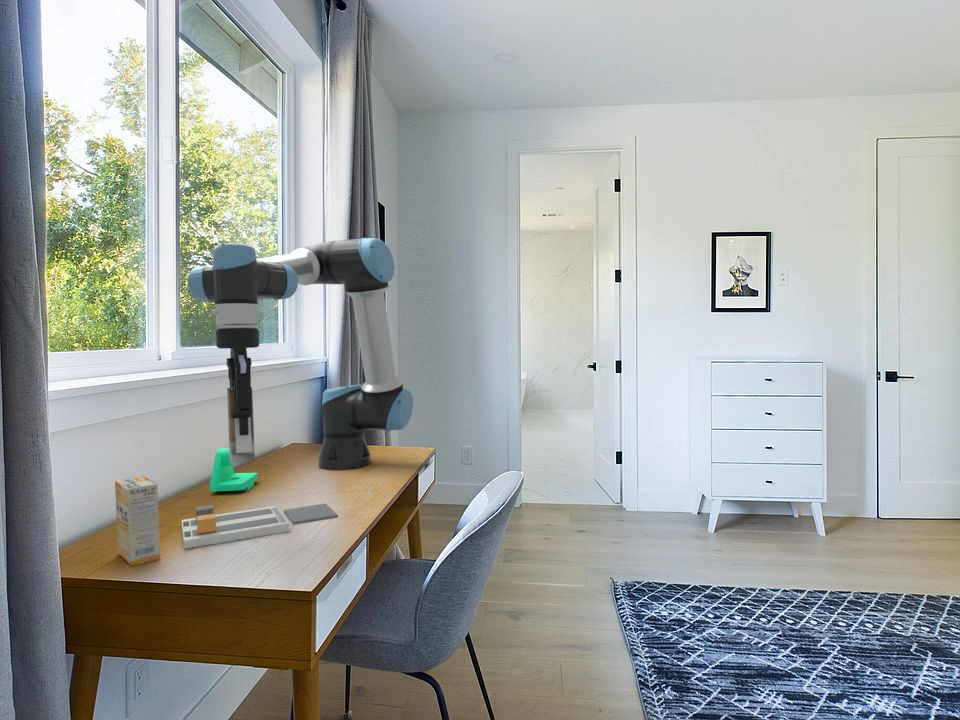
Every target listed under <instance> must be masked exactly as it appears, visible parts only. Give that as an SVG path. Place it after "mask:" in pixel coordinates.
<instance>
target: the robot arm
mask: <svg viewBox="0 0 960 720" xmlns="http://www.w3.org/2000/svg"><path fill="white" fill-rule="evenodd" d="M212 251H213V252H212V255H213V256H212V265H209V264H206V265H203V266H201V265H200V266H196V267H194V268H193V269H192V270H191V271H190V272H188V273H189V274H188V277H187V286H188V287H187V288H188V292H189V293H190V295H191V296H192V297H193V298H194V299H195V300H197V301H199V302H209V303H213V302H214V304H215V306H214V308H215V309H212V310H211V314H212V315H215V325H216V326H217V327H219V328H217V329H216V331H215V342H216V348H218V349H220V350H221V349H230V355H229V357H228V358H226V366H227V370H228V371H227V372H228V375H227V377H228V380H229V388H231V387H232V388H233V387H234V393H235V410H236V414H235V415H232V419H234V418H235V438H236V453H244V452H252V438H251V417H250V416H251V415H252V404H251V388H252V385H251V379H252V375H251V372H252V371H251V370H252V369H251V368H252V358H251V357H248V351H247V349H249V348H254V349H255V348H259V347H260V331H259V329H258V328H257V327H256V326H258V325H259V323H260V320H259V316H260V315H259V303H258V300H267V299H268V300H275V301H276V300H286V299H290V298H291V297H292V296H293V295H294V294H295V293H296V292H297V289H298V286H299V285H300V286H301V285H302V286H310V285H343V287H344V292H345V293H346V294H347V295H348V296H350V297H351V300H352V305H353V312H354V317H355V323H356V330H357V336H358V343H359V349H360V354H361V363H362V366H363V373H364V380H365V382H363V383H362V384H361V383H360V384H353V385H346V386H339V387H332V388H327V389H325V390H324V391H323V393H322V404H321V406H322V428H323V442H322V445H321V447H320V452H319V455H318V459H317V462H318V463H317V464H318V467H319V468H320V469H323V470H332V471H333V470H336V471H337V470H351V469H359V468H362V467H366V466H369V465H370V464H372V458H371V457H372V456H371V452H370V450H369V447H368V444H367V441H366V438H365V430H366V431H367V430H368V431H371V430H372V431H387V432H392V431H401V430H403V429H404V428H405V427H407V425H408V424H409V422H410V420H411V417H412V414H413V408H414V397H413V394H412V391H411V390H409V389H407V388H404V385H403V380H402V379H401V378H400V377H397V374H396V366H395V359H394V353H393V347H392V341H391V339H392V338H391V333H390V327H389V321H388V313H387V305H386V299H385V293H386V292H387V290H388V288H389V282H390V281H391V280H392V279H393V278H394V274H395V272H394V271H395V260H394V258H393V254H392V253H391V252H392V251H391V250H390V248H389V246H388V245H387V243H386V242H384V241H383V240H382V239H380V238H375V237H362V238H352V239H342V240H330V241H329V240H328V241H324V242H320V243H317V244H313V245H309V246H306V247H301V248H300V247H299V248H297V249H295V250H293V251H291V253H287V254H280V255H275V256H273V255H272V256H268V257H260V258H258V257H257V255H256V249H255V247H253V246H252V245H250V244H245V243H220V244H217V245H216V246H214V248H213V250H212Z"/></svg>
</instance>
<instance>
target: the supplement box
mask: <svg viewBox="0 0 960 720" xmlns="http://www.w3.org/2000/svg"><path fill="white" fill-rule="evenodd" d="M114 490H115V491H114V492H115V512H116V513H115V514H116V536H117V537H116V538H117V554H118V555H119V556H120V557H122V558H123V560H125V561H126V562H127V563H128V564H129V565H130V566H131V567H133V566H132V565H134V566H136V565H135V564H138V565H140V564H139V563H142V564H144V563H143V562H146V563H148V561H150V562H153V561H157V560H160V559H161V545H160V544H161V543H160V542H161V541H160V540H161V539H160V518H159V517H160V516H159V493H158V492H159V491H158V484H157V483H156V482H155V481H152V480H150V479H148V478H146V477H145V476H144V475H143V476H137V477H129V478H122V479H119V480H118V479H117V480H115V481H114ZM156 559H157V560H156ZM152 560H153V561H152Z"/></svg>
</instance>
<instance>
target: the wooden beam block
mask: <svg viewBox="0 0 960 720" xmlns="http://www.w3.org/2000/svg"><path fill="white" fill-rule="evenodd" d="M226 394H227V395H226V397H227V419H228V420H227V421H228V446H229V447H228V448H229V451H230V461H231V463H232V464H234V465H235V464H245V463H255V462H256V458H255V456H256V455H255V431H254V430H255V427H254V404H253V403H254V402H253V401H254V400H253V396H254V395H253V387H251V404H252V415H251V416H250V417H251V438H252V452H244V453H236V438H235V418H234V419H232V415H235V414H236V410H235V393H234V387H233V388H232V387H231V388H230V387H226Z"/></svg>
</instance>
